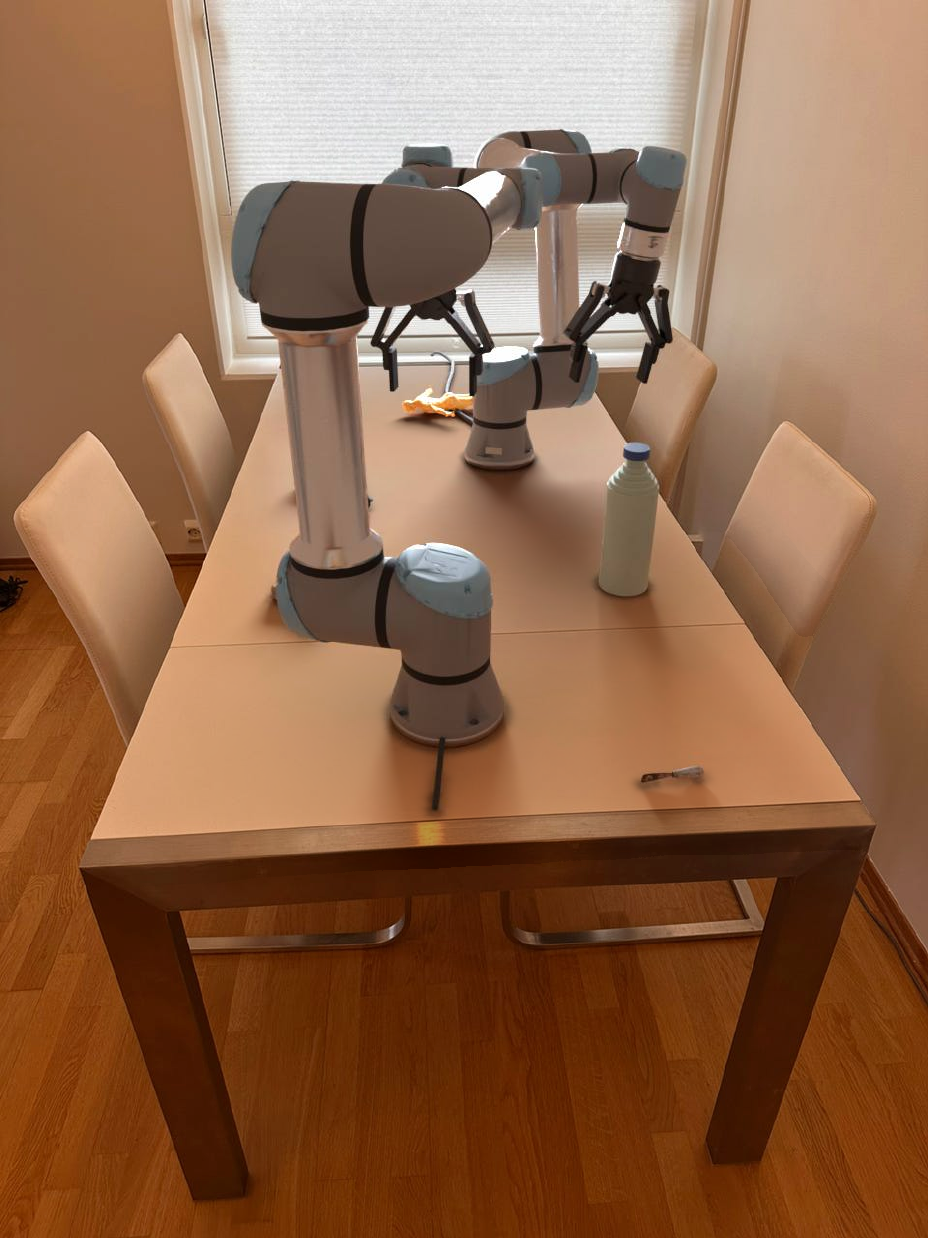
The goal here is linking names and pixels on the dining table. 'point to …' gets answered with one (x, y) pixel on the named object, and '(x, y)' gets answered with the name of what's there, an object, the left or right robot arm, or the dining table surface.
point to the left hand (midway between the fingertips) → (433, 391)
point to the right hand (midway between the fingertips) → (608, 380)
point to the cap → (636, 451)
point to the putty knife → (674, 774)
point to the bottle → (628, 529)
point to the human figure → (438, 403)
